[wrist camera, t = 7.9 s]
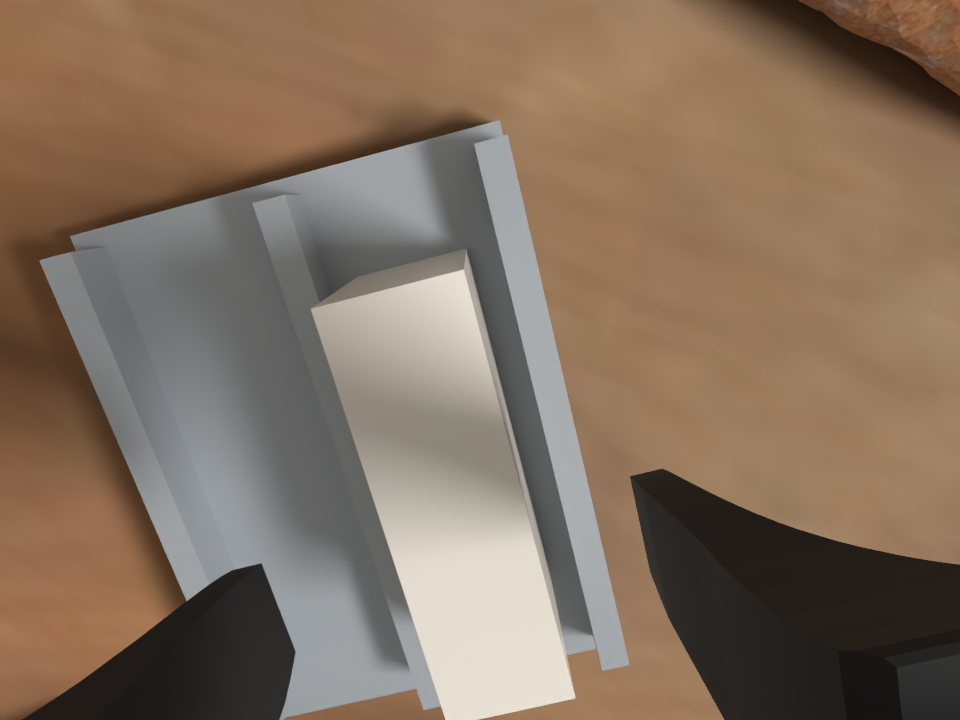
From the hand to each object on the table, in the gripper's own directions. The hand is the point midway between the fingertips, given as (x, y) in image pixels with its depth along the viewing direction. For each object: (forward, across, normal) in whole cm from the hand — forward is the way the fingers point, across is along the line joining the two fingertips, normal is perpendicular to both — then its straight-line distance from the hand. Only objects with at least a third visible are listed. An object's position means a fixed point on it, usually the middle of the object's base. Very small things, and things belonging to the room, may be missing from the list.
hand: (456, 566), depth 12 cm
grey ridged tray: (+7, +3, 0) cm, 8 cm away
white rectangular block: (+6, 0, 0) cm, 6 cm away
